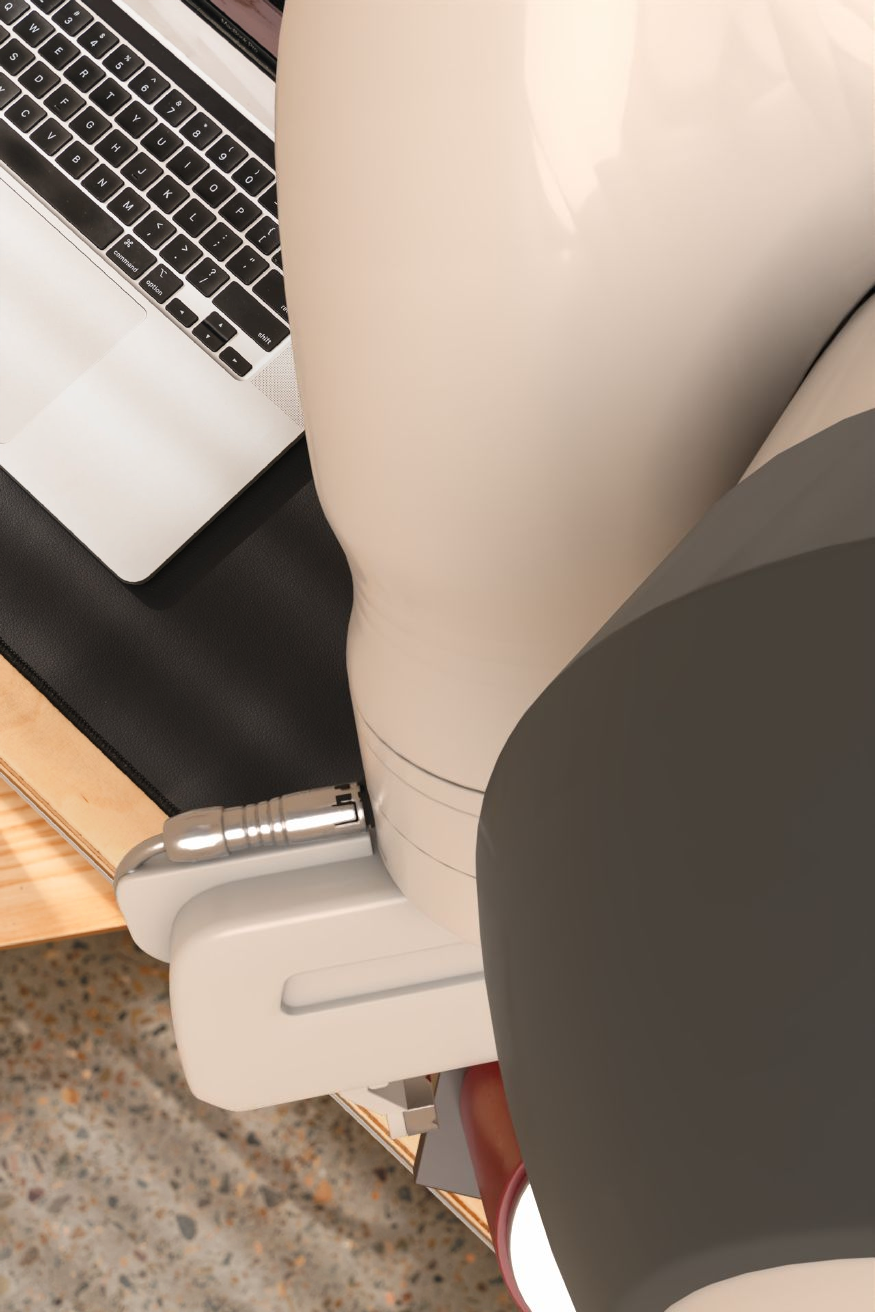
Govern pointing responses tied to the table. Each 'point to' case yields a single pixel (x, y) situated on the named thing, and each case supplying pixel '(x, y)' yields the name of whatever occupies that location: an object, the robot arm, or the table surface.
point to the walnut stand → (446, 1142)
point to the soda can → (508, 1195)
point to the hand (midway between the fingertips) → (562, 1082)
